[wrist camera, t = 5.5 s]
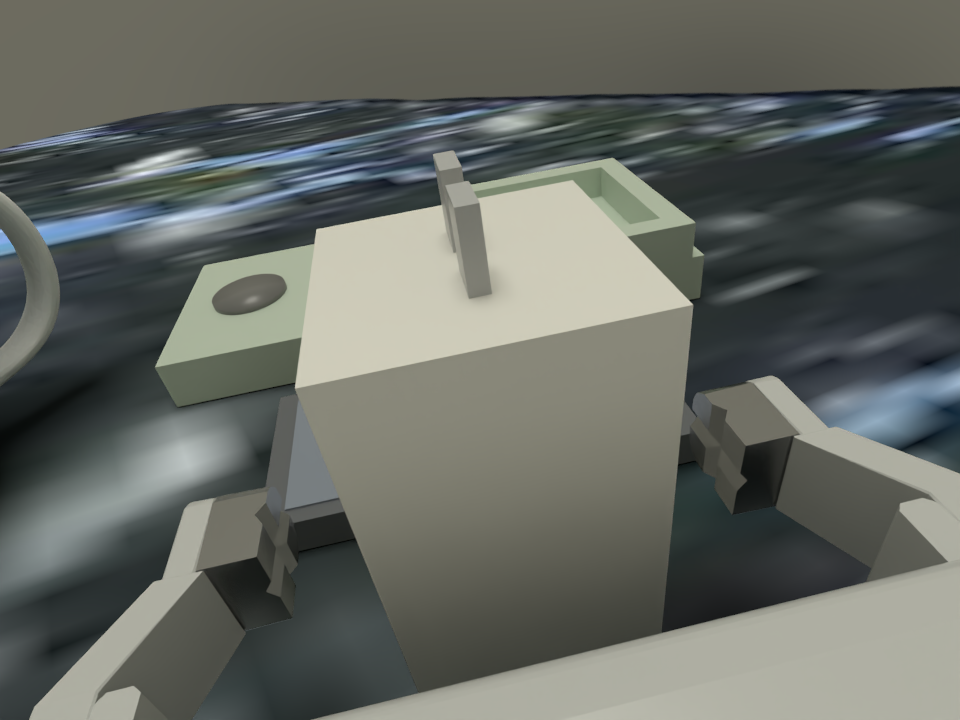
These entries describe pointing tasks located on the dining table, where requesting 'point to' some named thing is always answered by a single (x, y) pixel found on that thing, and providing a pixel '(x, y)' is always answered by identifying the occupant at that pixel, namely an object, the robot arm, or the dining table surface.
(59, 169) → the dining table surface
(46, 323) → the mug
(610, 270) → the charger
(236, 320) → the green desk organizer
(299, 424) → the phone
